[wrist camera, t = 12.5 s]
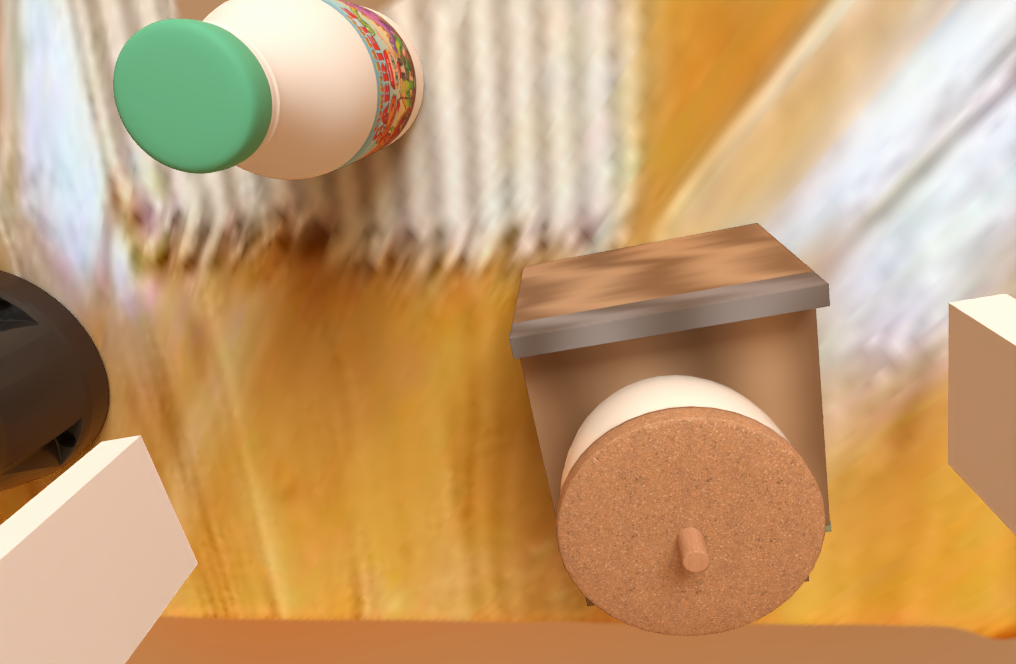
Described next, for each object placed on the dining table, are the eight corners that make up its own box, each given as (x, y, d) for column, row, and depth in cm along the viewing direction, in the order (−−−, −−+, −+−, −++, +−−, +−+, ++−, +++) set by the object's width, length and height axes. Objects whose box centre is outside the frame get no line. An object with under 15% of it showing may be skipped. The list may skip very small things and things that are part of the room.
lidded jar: (560, 526, 38) (558, 665, 29) (555, 342, 34) (552, 439, 25) (764, 528, 37) (825, 672, 28) (783, 339, 33) (860, 439, 24)
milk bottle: (336, 172, 42) (154, 261, 23) (267, 46, 40) (5, 35, 21) (449, 114, 40) (350, 162, 22) (384, -20, 38) (212, -96, 19)
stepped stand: (584, 556, 51) (590, 696, 40) (523, 266, 43) (508, 339, 32) (786, 531, 49) (852, 671, 38) (758, 222, 41) (829, 284, 30)
